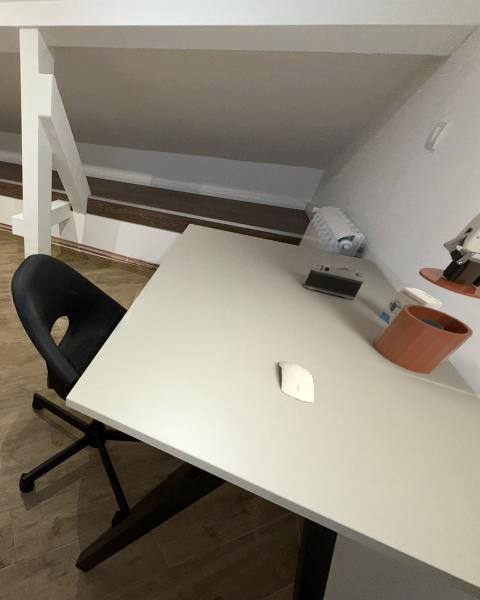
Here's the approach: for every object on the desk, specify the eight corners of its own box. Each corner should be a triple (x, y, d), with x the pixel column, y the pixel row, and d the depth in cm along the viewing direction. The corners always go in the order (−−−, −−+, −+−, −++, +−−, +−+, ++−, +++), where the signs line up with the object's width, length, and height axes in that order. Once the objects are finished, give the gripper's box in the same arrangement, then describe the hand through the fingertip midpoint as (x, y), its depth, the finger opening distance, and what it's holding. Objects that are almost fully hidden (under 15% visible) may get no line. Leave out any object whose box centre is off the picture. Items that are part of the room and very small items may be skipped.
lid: (477, 282, 76) (500, 257, 72) (512, 309, 66) (542, 282, 62) (408, 266, 81) (426, 242, 77) (431, 290, 70) (453, 263, 66)
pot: (420, 351, 86) (456, 314, 79) (441, 382, 76) (484, 342, 69) (367, 336, 90) (396, 299, 83) (380, 363, 80) (415, 324, 73)
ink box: (377, 317, 99) (401, 286, 93) (392, 318, 100) (417, 287, 93) (399, 334, 92) (427, 302, 86) (415, 336, 92) (444, 304, 86)
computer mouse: (280, 393, 69) (285, 386, 67) (276, 359, 78) (281, 352, 77) (315, 405, 67) (321, 398, 65) (307, 369, 76) (311, 362, 75)
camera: (345, 295, 113) (358, 269, 110) (355, 301, 105) (370, 273, 102) (297, 283, 118) (308, 258, 114) (304, 288, 110) (316, 261, 107)
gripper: (573, 207, 62) (497, 284, 73) (466, 190, 68) (409, 265, 78) (606, 216, 57) (518, 299, 67) (485, 197, 62) (421, 277, 72)
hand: (460, 280), depth 72 cm, fingers closed on lid, 4 cm apart
